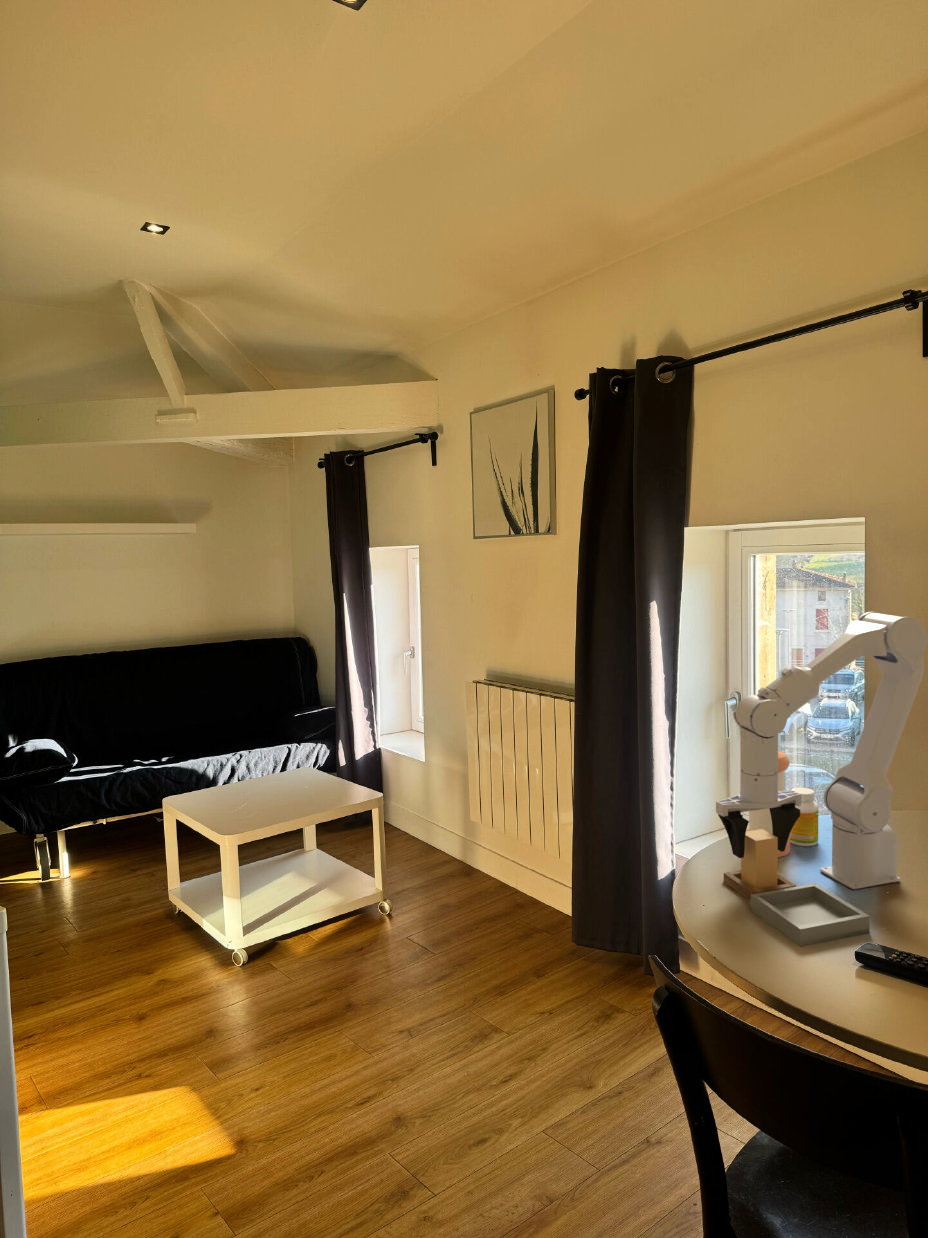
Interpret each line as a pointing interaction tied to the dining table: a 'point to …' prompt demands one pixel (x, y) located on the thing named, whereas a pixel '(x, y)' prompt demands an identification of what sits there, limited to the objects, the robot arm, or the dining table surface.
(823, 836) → the dining table surface
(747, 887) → the socket collar
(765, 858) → the tan rectangular block
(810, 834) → the supplement bottle
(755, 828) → the salt shaker
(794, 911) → the tray
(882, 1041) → the dining table surface
